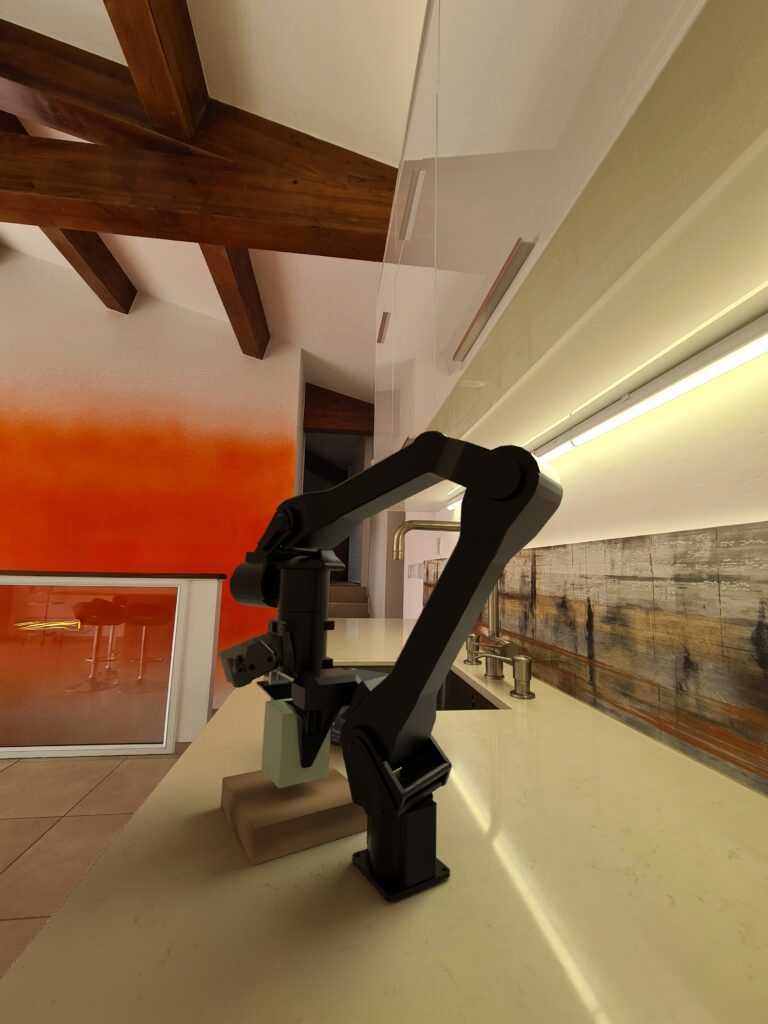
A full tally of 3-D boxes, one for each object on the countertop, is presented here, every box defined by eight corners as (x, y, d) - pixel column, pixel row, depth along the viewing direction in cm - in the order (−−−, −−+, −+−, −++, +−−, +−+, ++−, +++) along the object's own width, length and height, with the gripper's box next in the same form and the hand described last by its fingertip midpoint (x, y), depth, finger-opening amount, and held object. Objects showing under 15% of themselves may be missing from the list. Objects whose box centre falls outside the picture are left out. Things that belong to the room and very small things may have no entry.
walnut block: (369, 829, 46) (370, 797, 47) (252, 865, 40) (254, 828, 40) (320, 783, 56) (321, 757, 57) (220, 806, 50) (222, 777, 50)
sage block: (328, 776, 48) (331, 707, 49) (278, 788, 45) (282, 714, 46) (308, 759, 53) (311, 695, 54) (261, 768, 50) (265, 701, 51)
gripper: (210, 606, 55) (199, 743, 53) (257, 619, 39) (245, 814, 37) (297, 605, 61) (291, 728, 58) (368, 616, 45) (363, 785, 43)
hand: (295, 757), depth 49 cm, fingers closed on sage block, 5 cm apart
